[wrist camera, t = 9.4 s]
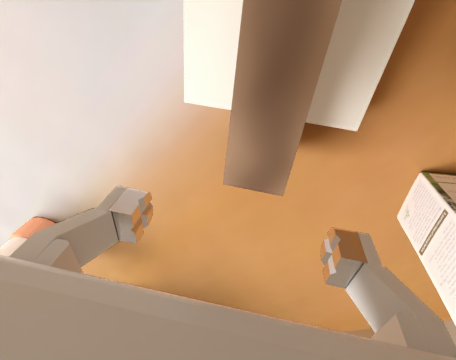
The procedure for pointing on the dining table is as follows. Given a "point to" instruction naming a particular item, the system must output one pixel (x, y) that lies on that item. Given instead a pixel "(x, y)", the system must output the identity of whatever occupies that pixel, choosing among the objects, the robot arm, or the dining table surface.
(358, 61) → the board
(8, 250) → the pepper shaker
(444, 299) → the syrup box
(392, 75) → the dining table surface
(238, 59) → the bar
